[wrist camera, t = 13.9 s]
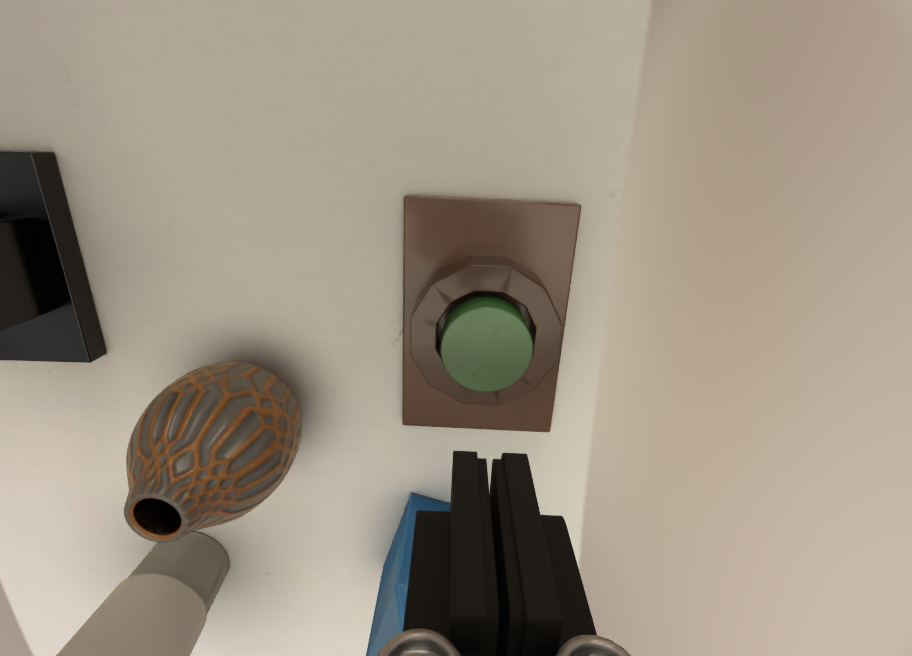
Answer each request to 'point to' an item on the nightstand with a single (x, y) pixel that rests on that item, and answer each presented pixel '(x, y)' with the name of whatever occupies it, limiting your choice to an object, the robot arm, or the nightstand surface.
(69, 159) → the nightstand surface
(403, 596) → the perfume bottle
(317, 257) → the nightstand surface
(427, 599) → the robot arm
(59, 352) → the switch bracket
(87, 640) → the cup
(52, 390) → the nightstand surface
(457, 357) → the light button
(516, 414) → the button block
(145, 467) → the vase
